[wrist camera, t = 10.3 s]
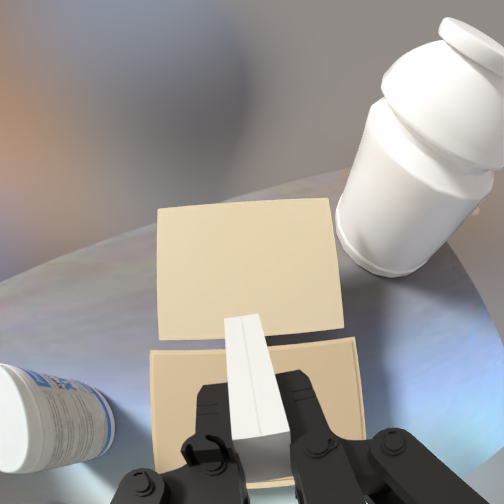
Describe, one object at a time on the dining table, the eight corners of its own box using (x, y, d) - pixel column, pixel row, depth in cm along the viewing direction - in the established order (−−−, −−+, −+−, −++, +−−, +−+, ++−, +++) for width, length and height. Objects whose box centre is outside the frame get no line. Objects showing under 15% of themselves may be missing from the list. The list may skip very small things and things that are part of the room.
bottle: (443, 263, 34) (573, 107, 9) (360, 295, 33) (510, 80, 8) (397, 182, 40) (468, 17, 16) (316, 198, 39) (361, -15, 14)
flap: (159, 340, 24) (158, 208, 27) (162, 339, 25) (160, 212, 28) (344, 327, 24) (328, 197, 27) (340, 327, 25) (325, 202, 28)
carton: (174, 471, 24) (156, 486, 18) (168, 359, 29) (149, 350, 24) (348, 459, 24) (368, 471, 19) (337, 347, 30) (355, 336, 24)
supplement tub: (104, 373, 28) (17, 348, 15) (130, 453, 24) (49, 476, 11) (44, 389, 27) (-43, 367, 14) (65, 461, 23) (-22, 472, 10)
